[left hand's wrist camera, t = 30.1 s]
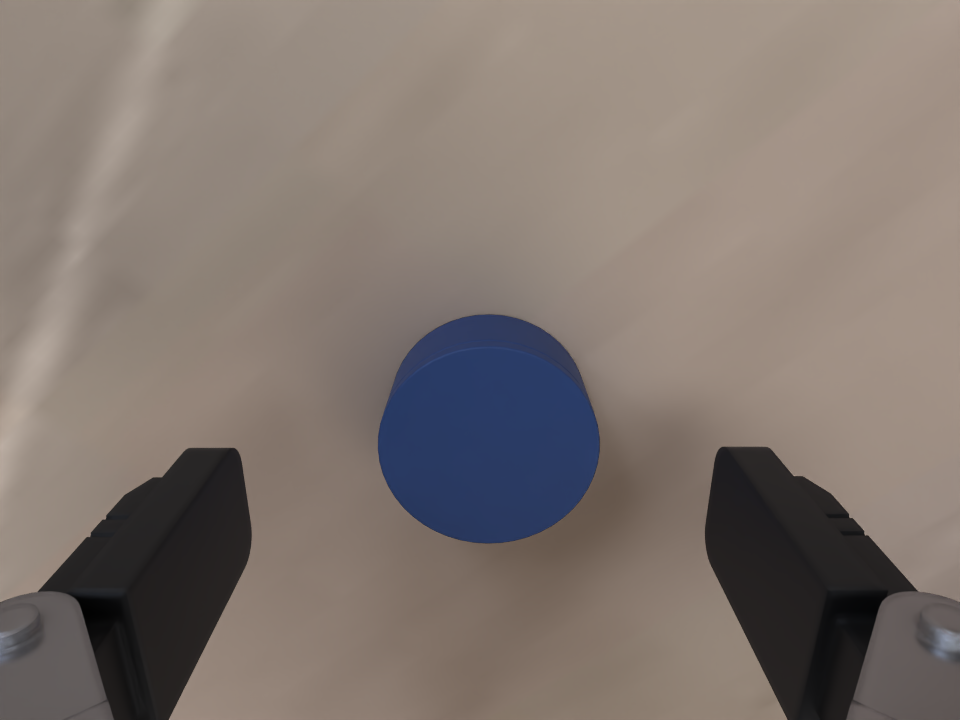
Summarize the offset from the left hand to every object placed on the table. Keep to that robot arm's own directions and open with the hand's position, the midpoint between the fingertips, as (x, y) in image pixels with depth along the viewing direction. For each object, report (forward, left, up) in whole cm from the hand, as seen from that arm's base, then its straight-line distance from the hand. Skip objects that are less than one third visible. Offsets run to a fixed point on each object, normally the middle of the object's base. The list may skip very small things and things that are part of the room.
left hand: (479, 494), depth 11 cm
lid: (0, 0, -2) cm, 2 cm away
